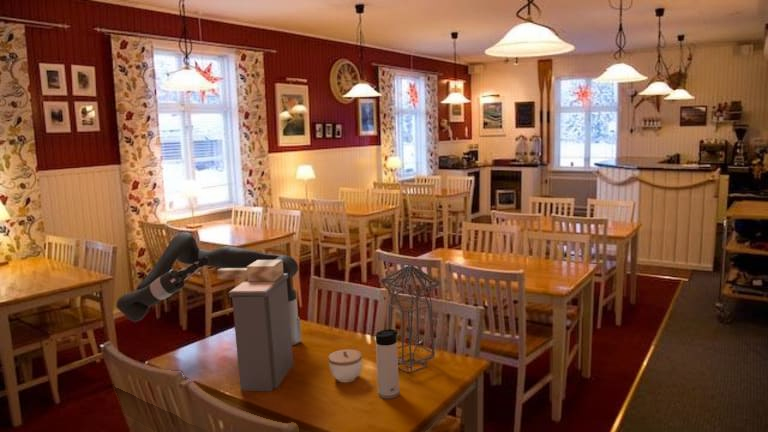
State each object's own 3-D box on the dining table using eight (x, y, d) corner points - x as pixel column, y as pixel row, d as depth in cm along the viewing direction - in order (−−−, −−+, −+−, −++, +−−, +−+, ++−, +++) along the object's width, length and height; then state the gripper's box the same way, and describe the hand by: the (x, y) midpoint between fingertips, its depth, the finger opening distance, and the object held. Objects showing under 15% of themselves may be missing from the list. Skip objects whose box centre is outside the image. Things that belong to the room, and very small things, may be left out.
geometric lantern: (415, 353, 205) (414, 257, 199) (444, 369, 192) (443, 266, 186) (378, 364, 196) (375, 264, 190) (405, 381, 183) (403, 274, 177)
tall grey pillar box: (237, 390, 182) (228, 291, 177) (261, 362, 204) (254, 273, 199) (274, 391, 181) (266, 291, 175) (294, 362, 202) (288, 272, 197)
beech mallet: (213, 281, 191) (212, 266, 190) (225, 274, 200) (224, 260, 199) (274, 281, 187) (273, 266, 187) (283, 274, 196) (282, 259, 195)
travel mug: (398, 399, 171) (395, 335, 168) (376, 398, 172) (373, 334, 169) (402, 390, 177) (399, 327, 174) (380, 389, 178) (377, 327, 175)
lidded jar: (337, 388, 180) (336, 360, 179) (324, 376, 190) (323, 349, 188) (368, 380, 185) (367, 352, 184) (354, 368, 194) (353, 342, 193)
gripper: (150, 281, 195) (187, 257, 192) (171, 270, 209) (206, 248, 206) (162, 300, 196) (199, 276, 193) (182, 288, 210) (217, 266, 207)
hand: (203, 262), depth 199 cm, fingers open, 8 cm apart
